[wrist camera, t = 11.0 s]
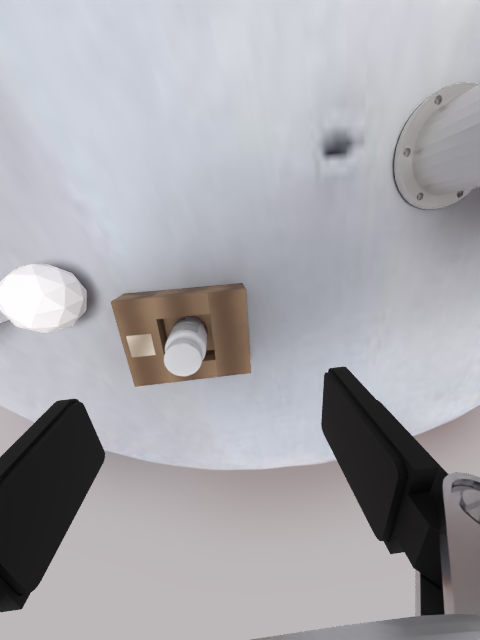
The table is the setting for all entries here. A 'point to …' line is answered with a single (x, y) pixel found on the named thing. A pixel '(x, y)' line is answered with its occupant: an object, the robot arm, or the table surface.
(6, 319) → the ink box
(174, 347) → the pill bottle
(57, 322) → the geometric ball
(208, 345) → the brown flat recessed slab
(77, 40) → the table surface
